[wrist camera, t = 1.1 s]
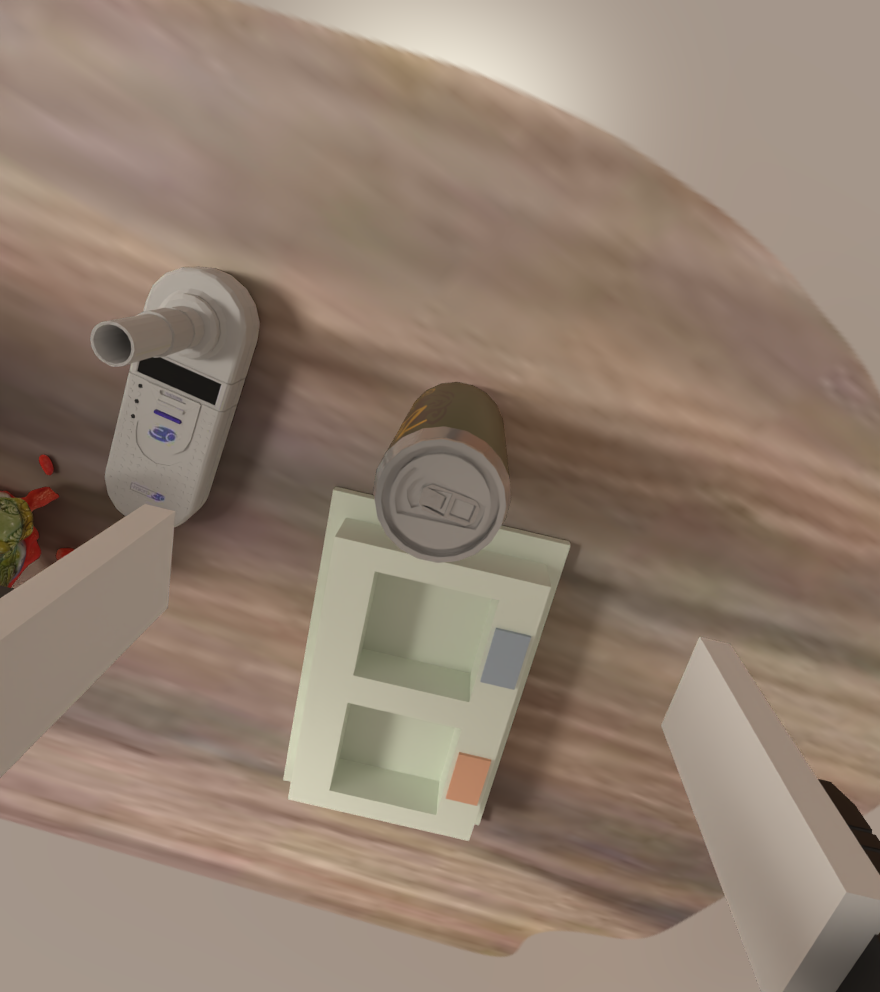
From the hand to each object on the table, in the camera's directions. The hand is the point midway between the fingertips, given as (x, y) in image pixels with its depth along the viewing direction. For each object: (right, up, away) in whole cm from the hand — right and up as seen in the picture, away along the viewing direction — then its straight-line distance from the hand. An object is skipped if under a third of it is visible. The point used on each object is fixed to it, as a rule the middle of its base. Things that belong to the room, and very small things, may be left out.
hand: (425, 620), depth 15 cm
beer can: (+1, +7, +19) cm, 20 cm away
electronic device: (-14, +9, +20) cm, 26 cm away
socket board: (-1, -8, +25) cm, 26 cm away
